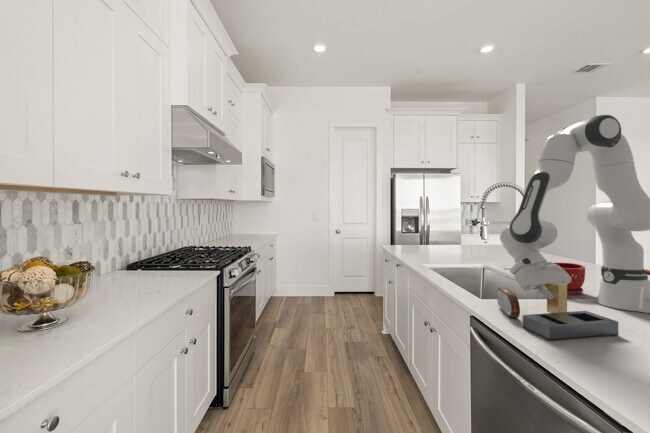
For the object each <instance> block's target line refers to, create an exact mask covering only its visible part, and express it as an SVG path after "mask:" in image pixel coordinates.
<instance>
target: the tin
mask: <svg viewBox="0 0 650 433" xmlns="http://www.w3.org/2000/svg"><path fill="white" fill-rule="evenodd" d="M496 296H497V297H496V298H497V304H498V307H499V309H500V311H502V312H503V313H504V314H505V315H506V316H507V317H508V318H519V317H520V314H521V307H520V306H521V305H520V302H519V299H518V296H517V295H516V293H515V292H514V291H512V290H511V289H509V288H508V287H507V286H505V287H499V288H497V290H496Z"/></svg>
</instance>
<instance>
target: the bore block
mask: <svg viewBox="0 0 650 433" xmlns="http://www.w3.org/2000/svg"><path fill="white" fill-rule="evenodd" d="M522 329H525V330H527V331H528V332H531V333H533V334H534V335H537V336H539V337H541V338H543V339H545V340H547V341H548V342H554V341H555V342H556V341H564V340H577V339H578V340H579V339H590V338H591V339H592V338H603V337H605V338H606V337H616V336H619V321H617V320H616V319H615V320H614V319H611V318H608V317H605V316H603V315H600V314H597V313H593V312H591V311H588V310H578V311H577V310H576V311H567V312H560V313H550V312H547V313H532V314H522Z"/></svg>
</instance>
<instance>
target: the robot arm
mask: <svg viewBox="0 0 650 433" xmlns="http://www.w3.org/2000/svg"><path fill="white" fill-rule="evenodd" d="M587 151H588V152H589V154H590V155H591V157H592V166H593V173H594V176H595V183H596V186H597V189H599V190H600V191H601V192H603V193H604V194H605V195H606V196H607V197H608V199H609V200H607V201H601V202H599V203H598V202H597V203H595V204H593V205H591V206H590V207H589V208H588V210H587V213H586V217H587V221H588V222H589V224H591V225H592V226H593V227H594V229H595V231H596V232H597V234H598V237H599V239H600V243H601V247H602V248H601V250H602V265H601V268H600V271H601V272H600V273H601V274H600V275H601V276H602V278H601V279H600V282H599V288H598V295H597V296H596V299H597V300H596V302H597V303H598V304H600V305H602V306H605V307H609V308H612V309H618V310H623V311H630V312H631V311H632V312H639V313H646V314H650V279H649V276H650V269H644V268H645V266H644V264H645V263H644V259H645V258H644V256H645V255H644V253H645V252H644V251H645V250H644V247H643V246H642V244H640V243H639V242H638V241H637V240H636V239H635V238H634V236H633V233H632V232H646V231H650V197H649V195H648V194H647V193H646V192H645V191H644V189H643V187H642V185H641V183H640V181H639V179H638V174H637V170H636V167H635V166H636V165H635V162H634V161H635V160H634V155H633V153H632V149H631V146H630V144H629V142H628V139H627V137H625V136H624V135H623V134H622V126H621V123H620V121H619V120H618V119H617V118H616V117H615V116H613V115H610V114H601V115H596V116H593V117H589V118H586V119H583V120H580V121H578V122H575V123H573V124H571V125H570V126H566V127H564V128H563V129H561V130H559V131H558V132H557V133H554V134H552V135H550V136H548V137H547V138H546V140H545V142H544V144H543V146H542V147H541V150H540V153H539V156H538V159H537V163H536V166H535V170H534V173H533V175H532V176H531V177H530V180H529V181H528V183H527V185H526V189H525V192H524V194H523V197H522V200H521V202H520V205H519V207H518V208H519V209H518V210H517V213H516V214H515V216H513V219H511V221H510V224H509V226H507V227H506V228H504V229H503V230H502V231H501V233H500V234H499V240H500V242H501V244H502V246H503V248H504V250H505V251H506V252H507V253H508V255H510V257H512V258H513V261H514V263H515V264H514V265H513V266H512V267H511V268H509V273H511V274H512V275H513V278H514V280H515V281H516V283H517V284H518V285H519V287H521V289H523V290H524V291H526V292H528V291H534V290H538V291H539V292H540V293H541V294H543V295H544V296H546V299H547V298H548V299H554V298H555V295H554V294H553V292H550V291H548V290H547V284H548V283H555V282H558V283H562V284H568V283H570V282H571V281H572V278H571V277H570V276H569V274H568V273H567V272H566V271H565V270H564V269H563V268H561V267H560V266H559V265H557V264H554V263H555V262H552V261H547V259H546V258H545V257H544V256H543V255H542V253H541V252H540V251H539V250H540V249H543V248H545V247H547V246H549V245H551V244H552V243H554V241H555V240H556V239H557V236H558V231H557V230H558V229H557V228H556V225H554V224H553V223H552V222H550V221H547V220H545V219H542V218H540V213H541V209H542V207H543V204H544V201H545V198H546V195H547V194H548V192H550V191H551V190H552V189H556V188H560V187H562V186H564V185H565V184H567V183H568V182H569V180H570V179H571V175H572V174H573V170H574V167H575V166H574V165H575V162H576V156H577V154H578V153H582V152H583V153H584V152H587Z"/></svg>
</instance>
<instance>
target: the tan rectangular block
mask: <svg viewBox="0 0 650 433" xmlns="http://www.w3.org/2000/svg"><path fill="white" fill-rule="evenodd" d="M546 289H547V290H548V291H550V292H553V294H554V295H555V298H554V299H548V298H547V297H546V312H547V313H560V312H568V294H567V284H562V283H558V282H555V283H548V284H547V288H546Z"/></svg>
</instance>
